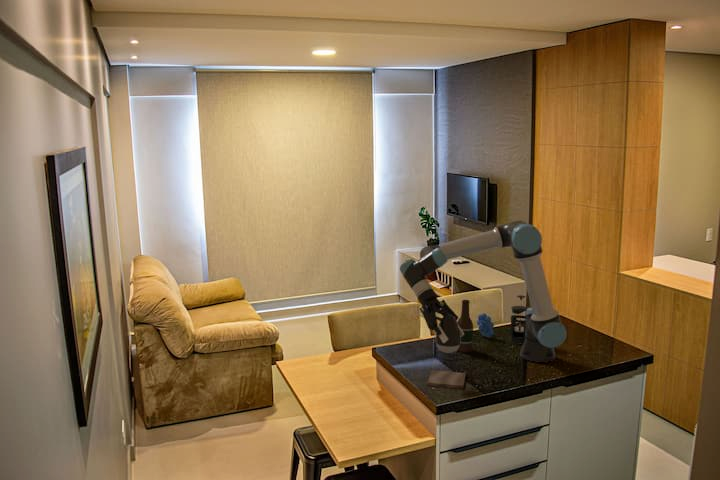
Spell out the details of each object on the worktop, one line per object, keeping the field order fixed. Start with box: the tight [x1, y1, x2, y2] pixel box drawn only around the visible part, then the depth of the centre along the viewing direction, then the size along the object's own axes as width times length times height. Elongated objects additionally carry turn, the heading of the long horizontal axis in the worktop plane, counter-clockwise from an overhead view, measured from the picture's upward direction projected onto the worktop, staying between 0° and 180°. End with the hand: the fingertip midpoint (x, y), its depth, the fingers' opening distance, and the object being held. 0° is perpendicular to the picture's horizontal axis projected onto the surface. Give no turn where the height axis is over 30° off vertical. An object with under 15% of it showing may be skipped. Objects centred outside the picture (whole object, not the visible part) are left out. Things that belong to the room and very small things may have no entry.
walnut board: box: [427, 369, 467, 390], centre depth 247 cm, size 14×14×1 cm
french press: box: [509, 294, 530, 343], centre depth 296 cm, size 12×9×23 cm
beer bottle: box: [456, 299, 474, 353], centre depth 283 cm, size 8×8×24 cm
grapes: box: [476, 312, 495, 339], centre depth 303 cm, size 12×7×12 cm, turn 32°
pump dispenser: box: [434, 314, 461, 354], centre depth 244 cm, size 10×10×15 cm
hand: (454, 338), depth 242 cm, fingers closed on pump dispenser, 9 cm apart
